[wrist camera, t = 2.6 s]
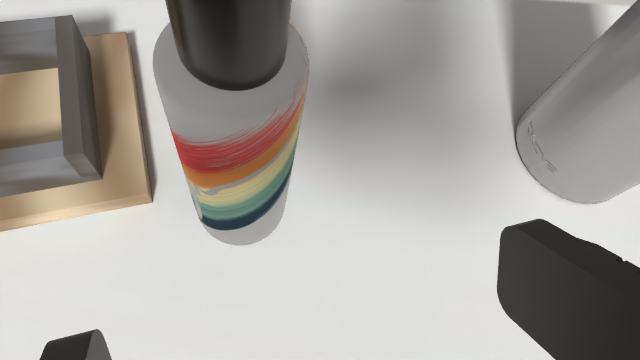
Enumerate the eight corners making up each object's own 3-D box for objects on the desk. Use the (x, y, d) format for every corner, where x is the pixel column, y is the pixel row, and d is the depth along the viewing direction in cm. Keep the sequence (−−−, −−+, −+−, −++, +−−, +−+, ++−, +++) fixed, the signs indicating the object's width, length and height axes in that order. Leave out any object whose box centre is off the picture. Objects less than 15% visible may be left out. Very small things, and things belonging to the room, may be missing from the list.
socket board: (130, 46, 34) (111, -6, 29) (152, 202, 29) (134, 168, 25) (-103, 72, 30) (-164, 18, 26) (-121, 255, 26) (-201, 227, 21)
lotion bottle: (180, 195, 30) (70, -103, 12) (253, 153, 31) (256, -156, 13) (227, 264, 28) (184, 48, 10) (300, 216, 30) (374, -36, 12)
